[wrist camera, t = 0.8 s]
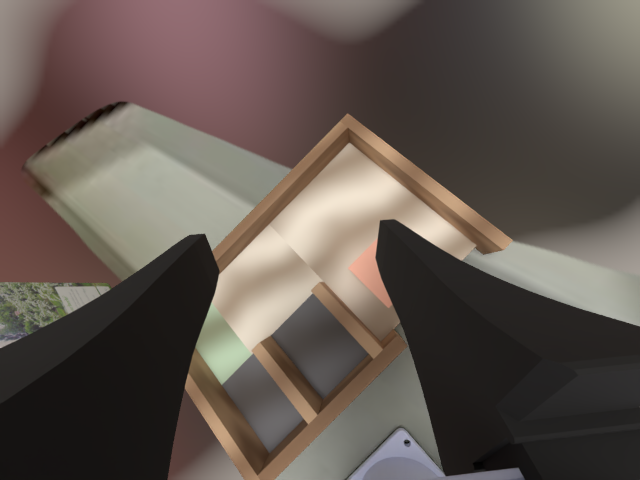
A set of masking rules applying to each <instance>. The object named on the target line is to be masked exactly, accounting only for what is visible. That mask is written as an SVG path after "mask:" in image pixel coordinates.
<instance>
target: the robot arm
mask: <svg viewBox="0 0 640 480" xmlns="http://www.w3.org/2000/svg"><path fill="white" fill-rule="evenodd" d="M375 259H376V262H377V266H378V270H379V273H380V276H381V279H382V281H383V284H384V286H385V288H386V291H387V293H388V295H389V297H390V300H391V302H392V304H393V307H394V309H395V311H396V313H397V316H398V318H399V320H400V322H401V325H402V327H403V330H404V332H405V335H406V338H407V341H408V345H409V348H410V351H411V354H412V357H413V360H414V364H415V367H416V370H417V373H418V377H419V380H420V383H421V387H422V391H423V394H424V398H425V401H426V405H427V409H428V412H429V416H430V420H431V424H432V428H433V432H434V436H435V440H436V444H437V447H438V452H439V456H440V460H441V464H442V468H443V471H444V473H445V474H444V473H443V472H442V471H441V469H440V468H439V467H438V466H437V465H436V464H435V463H434V462H433V460H432V459H431V458H430V457H429V456H428V455H427V454H426V452H425V451H424V450H423V449H422V448H421V447H420V446H419V445H418V443H417V442H416V441H415V440H414V439H413V438H412V437H411V435H410V434H409V433H408V432H407V431H406V430H405V429H403V428H398V429H397V430H396V431H395V432H394V433H393V434H392V435H391V436H390V437H389V438H388V439H387V440H386V441H385V442H384V443H383V444H382V445H381V446H380V447H379V448H378V449H377V450H376V451H375V452H374V453H373V454H372V455H371V456H370V457H369V458H368V459H367V460H366V461H365V462H364V463H363V464H362V465H361V466H360V467H359V468H358V469H357V470H356V471H355V472H354V473H353V474H352V475H351V476H350V477H349V478H348V479H347V480H640V326H636V325H633V324H629V323H626V322H623V321H619V320H616V319H612V318H609V317H606V316H602V315H599V314H596V313H592V312H589V311H585V310H582V309H579V308H576V307H573V306H570V305H567V304H564V303H561V302H558V301H555V300H552V299H550V298H547V297H544V296H541V295H538V294H536V293H533V292H530V291H528V290H525V289H523V288H520V287H518V286H515V285H513V284H510V283H508V282H506V281H503V280H501V279H499V278H496V277H494V276H492V275H490V274H487V273H485V272H483V271H481V270H479V269H477V268H475V267H473V266H471V265H469V264H467V263H465V262H463V261H461V260H459V259H458V258H456V257H454V256H452V255H451V254H449V253H447V252H445V251H444V250H442V249H440V248H439V247H437V246H435V245H434V244H432V243H431V242H429V241H428V240H426V239H425V238H423V237H421V236H420V235H418V234H417V233H415V232H414V231H412V230H411V229H409V228H408V227H406V226H405V225H403V224H402V223H400V222H399V221H397V220H395V219H389V220H380V224H379V232H378V240H377V248H376V256H375ZM219 272H220V270H219V268H218V265H217V263H216V260H215V258H214V255H213V253H212V250H211V248H210V245H209V243H208V240H207V238H206V235H205V234H196V235H189V236H187V237H185V238H184V239H182V240H181V241H179V242H178V243H177V244H175V245H174V246H172V247H171V248H170V249H168V250H167V251H165V252H164V253H163V254H161V255H160V256H159V257H157V258H156V259H154V260H153V261H152V262H150V263H149V264H147V265H146V266H145V267H143V268H142V269H140V270H139V271H137V272H136V273H134V274H133V275H131V276H130V277H129V278H127V279H126V280H124V281H123V282H121V283H120V284H118V285H117V286H115V287H114V288H112V289H110V290H109V291H107V292H106V293H104V294H102V295H101V296H99V297H97V298H96V299H94V300H92V301H91V302H89V303H87V304H85V305H84V306H82V307H80V308H78V309H77V310H75V311H73V312H71V313H69V314H67V315H66V316H64V317H62V318H60V319H58V320H56V321H54V322H52V323H50V324H48V325H46V326H44V327H42V328H41V329H39V330H37V331H35V332H33V333H31V334H29V335H27V336H25V337H23V338H21V339H19V340H17V341H14V342H12V343H10V344H8V345H6V346H4V347H2V348H0V480H167V478H168V472H169V466H170V459H171V454H172V447H173V441H174V436H175V431H176V426H177V421H178V416H179V411H180V406H181V401H182V397H183V392H184V388H185V384H186V380H187V376H188V372H189V368H190V364H191V360H192V356H193V353H194V350H195V347H196V343H197V341H198V338H199V335H200V333H201V330H202V327H203V325H204V322H205V319H206V317H207V314H208V311H209V308H210V306H211V303H212V300H213V297H214V294H215V291H216V287H217V282H218V277H219ZM406 439H407V440H409V441H410V442H409V443H408V444H406V443H404V440H406Z"/></svg>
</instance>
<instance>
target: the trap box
mask: <svg viewBox="0 0 640 480" xmlns="http://www.w3.org/2000/svg"><path fill="white" fill-rule="evenodd" d="M389 219H395V220H397V221H399V222H400V223H402V224H403V225H405V226H406V227H408V228H409V229H411V230H412V231H414V232H415V233H417V234H418V235H420V236H421V237H423V238H425V239H426V240H428V241H429V242H431V243H432V244H434V245H435V246H437V247H439V248H440V249H442V250H444V251H445V252H447V253H449V254H451V255H452V256H454V257H456V258H458V259H459V260H461V261H462V260H463V259H464V258H465V257H466V256H467V255H468V254H469V253H470V252H471V251H472V250H473V249H474V248H476V249H477V250H479V251H480V252H481V253H482V254H483V255H484V254H488V253H493V252H497V251H501V250H504V249H505V248H506V247H507V246H508V245H509V244H510V243H511V242H512V241H513V240H512V239H510V238H509V237H507V236H506V235H505V234H504V233H503V232H501V231H500V230H499V229H497V228H496V227H495V226H493V225H492V224H491V223H490V222H488V221H487V220H486V219H484V218H483V217H482V216H480V215H479V214H478V213H477V212H475V211H474V210H473V209H471V208H470V207H469V206H467V205H466V204H465V203H463V202H462V201H461V200H460V199H458V198H457V197H456V196H454V195H453V194H452V193H451V192H449V191H448V190H447V189H445V188H444V187H443V186H441V185H440V184H439V183H438V182H436V181H435V180H433V179H432V178H431V177H430V176H428V175H427V174H426V173H424V172H423V171H422V170H421V169H419V168H418V167H416V166H415V165H414V164H412V163H411V162H410V161H409V160H407V159H406V158H405V157H404V156H402V155H401V154H400V153H398V152H397V151H396V150H395V149H393V148H392V147H391V146H389V145H388V144H387V143H385V142H384V141H383V140H382V139H380V138H379V137H377V136H376V135H375V134H374V133H372V132H371V131H370V130H368V129H367V128H366V127H365V126H363V125H362V124H361V123H359V122H358V121H357V120H355V119H354V118H353V117H352V116H350V115H349V114H347V115H346V116H345V117H344V118H343V119H342V120H341V121H340V122H339V123H338V124H337V125H336V126H335V127H334V128H333V129H332V130H331V131H330V132H329V133H328V134H327V135H326V136H325V137H324V138H323V139H322V140H321V141H320V142H319V143H318V144H317V145H316V146H315V147H314V148H313V149H312V150H311V151H310V152H309V153H308V154H307V155H306V156H305V158H303V159H302V161H300V162H299V163H298V164H297V165H296V167H295V168H293V170H292V171H291V172H290V173H289V174H288V175H287V176H286V177H285V178H284V179H283V180H282V181H281V182H280V183H279V184H278V185H277V186H276V187H275V188H274V189H273V190H272V191H271V192H270V193H269V194H268V195H267V196H266V197H265V198H264V199H263V200H262V201H261V202H260V203H259V204H258V205H257V206H256V207H255V208H254V209H253V210H252V211H251V212H250V213H249V214H248V215H247V216H246V217H245V218H244V219H243V220H242V221H241V222H240V223H239V224H238V225H237V226H236V227H235V228H234V230H233V231H232V232H231V233H230V234H229V235H228V236H227V237H226V238H225V239H224V240H223V241H222V242H221V243H220V244H219V245H218V246H217V247H216V248H215V249H214V250H213V251H212V253H213V255H214V258H215V260H216V263H217V265H218V268H219V270H220V272H219V277H218V282H217V287H216V291H215V294H214V297H213V300H212V303H211V306H210V308H209V311H208V314H207V317H206V319H205V322H204V325H203V327H202V330H201V333H200V335H199V338H198V341H197V343H196V347H195V350H194V353H193V356H192V360H191V364H190V368H189V372H188V376H187V380H186V384H185V389H186V391H187V392H188V394H189V395H190V397H191V398H192V400H193V401H194V403H195V405H196V406H197V408H198V409H199V411H200V412H201V414H202V415H203V417H204V418H205V420H206V421H207V423H208V425H209V426H210V428H211V429H212V430H213V432H214V434H215V435H216V437H217V438H218V440H219V441H220V443H221V444H222V446H223V447H224V449H225V451H226V452H227V454H228V455H229V457H230V458H231V460H232V461H233V463H234V464H235V466H236V467H237V469H238V470H239V472H240V474H241V475H242V477H243V478H244V480H274V479H275V478H276V477H277V476H278V475H279V474H280V473H281V472H282V471H283V470H284V469H285V468H286V467H287V466H288V465H289V464H290V463H291V462H292V461H293V460H294V459H295V458H296V457H297V456H298V455H299V454H300V453H301V452H302V451H303V450H304V449H305V448H306V447H307V446H308V445H309V444H310V443H311V442H312V441H313V440H314V439H315V438H316V437H317V436H318V435H319V434H320V433H321V432H322V431H323V430H324V429H325V428H326V427H327V426H328V425H329V424H330V423H331V422H332V421H333V420H334V419H335V418H336V417H337V416H338V415H339V414H340V413H341V412H342V411H343V410H344V409H345V408H346V407H347V406H348V405H349V404H350V403H351V402H352V401H353V400H354V399H355V398H356V397H357V396H358V395H359V394H360V393H361V392H362V391H363V390H364V389H365V388H366V387H367V386H368V385H369V384H370V383H371V382H372V381H373V380H374V379H375V378H376V377H377V376H378V375H379V374H380V373H381V372H382V371H383V370H384V369H385V368H386V367H387V366H388V365H389V364H390V363H391V362H392V361H393V360H394V359H395V358H396V357H397V356H398V355H399V354H400V353H401V352H402V351H403V350H404V349H405V348H406V347H407V345H406V343H405V341H404V340H403V338H402V337H401V336H400V335H399V334H398V333H397V332H396V331H395V330H394V328H395V327H396V326H397V325H398V324H399V323H400V320H399V318H398V316H397V313H396V311H395V309H394V307H393V304H392V305H391V306H390V307H389V308H388V307H387V306H386V305H385V304H384V303H383V302H382V301H381V300H379V299H378V298H377V297H376V296H375V295H374V294H373V293H372V292H371V291H370V290H369V289H368V288H367V287H366V286H365V285H364V284H363V283H362V282H361V281H360V280H359V279H358V278H357V277H356V276H355V275H354V274H353V273H352V272H351V271H350V270H349V269H348V267H349V266H350V265H351V264H352V263H353V262H354V261H355V260H356V259H357V258H358V257H359V256H360V255H361V254H362V253H363V252H364V251H365V250H366V249H367V248H368V247H369V246H370V245H371V244H372V243H373V242H374V241H375V240H376V239H377V238H378V232H379V224H380V220H389Z"/></svg>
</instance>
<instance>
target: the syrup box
mask: <svg viewBox="0 0 640 480" xmlns="http://www.w3.org/2000/svg"><path fill="white" fill-rule="evenodd" d="M110 289H112V288H111V287H110V285H109V284H108V283H13V282H0V348H2V347H4V346H6V345H8V344H10V343H12V342H14V341H17V340H19V339H21V338H23V337H25V336H27V335H29V334H31V333H33V332H35V331H37V330H39V329H41V328H42V327H44V326H46V325H48V324H50V323H52V322H54V321H56V320H58V319H60V318H62V317H64V316H66V315H67V314H69V313H71V312H73V311H75V310H77V309H78V308H80V307H82V306H84V305H85V304H87V303H89V302H91V301H92V300H94V299H96V298H97V297H99V296H101V295H102V294H104V293H106V292H107V291H109V290H110Z"/></svg>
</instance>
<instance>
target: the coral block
mask: <svg viewBox="0 0 640 480" xmlns="http://www.w3.org/2000/svg"><path fill="white" fill-rule="evenodd" d="M377 240H378V238H377V239H376V240H375V241H374V242H373V243H372V244H371V245H370V246H369V247H368V248H367V249H366V250H365V251H364V252H363V253H362V254H361V255H360V256H359V257H358V258H357V259H356V260H355V261H354V262H353V263H352V264H351V265H350V266H349V267H348V269H349V270H350V271H351V272H352V273H353V274H354V275H355V276H356V277H357V278H358V279H359V280H360V281H361V282H362V283H363V284H364V285H365V286H366V287H367V288H368V289H369V290H370V291H371V292H372V293H373V294H374V295H375V296H376V297H377V298H378V299H379V300H381V301H382V302H383V303H384V304H385V305H386V306H387V307H388V308H389V307H390V306H391V305H392V302H391V300H390V297H389V295H388V293H387V291H386V288H385V286H384V284H383V281H382V279H381V276H380V273H379V270H378V266H377V262H376V259H375V256H376V248H377Z"/></svg>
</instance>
